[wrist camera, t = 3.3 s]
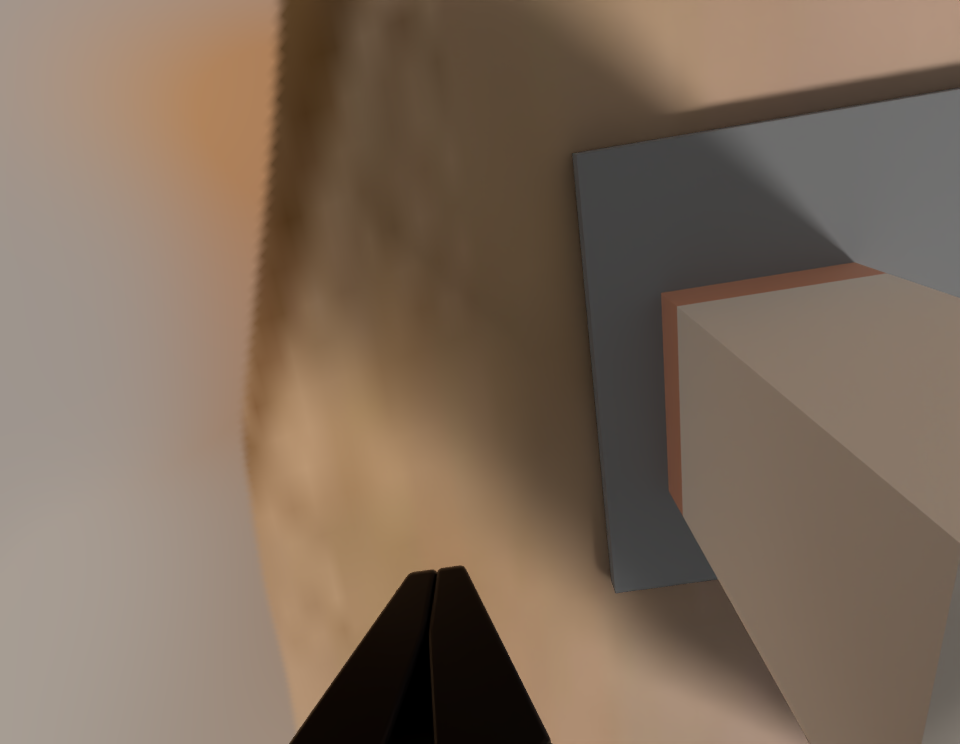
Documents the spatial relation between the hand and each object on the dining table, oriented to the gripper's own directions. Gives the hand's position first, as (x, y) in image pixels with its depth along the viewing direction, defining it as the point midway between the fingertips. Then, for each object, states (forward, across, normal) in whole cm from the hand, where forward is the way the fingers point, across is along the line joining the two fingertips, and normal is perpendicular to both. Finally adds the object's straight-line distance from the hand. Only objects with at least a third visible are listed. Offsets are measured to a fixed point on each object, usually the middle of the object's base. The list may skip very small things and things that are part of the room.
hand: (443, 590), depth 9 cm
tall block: (+5, -7, 0) cm, 9 cm away
